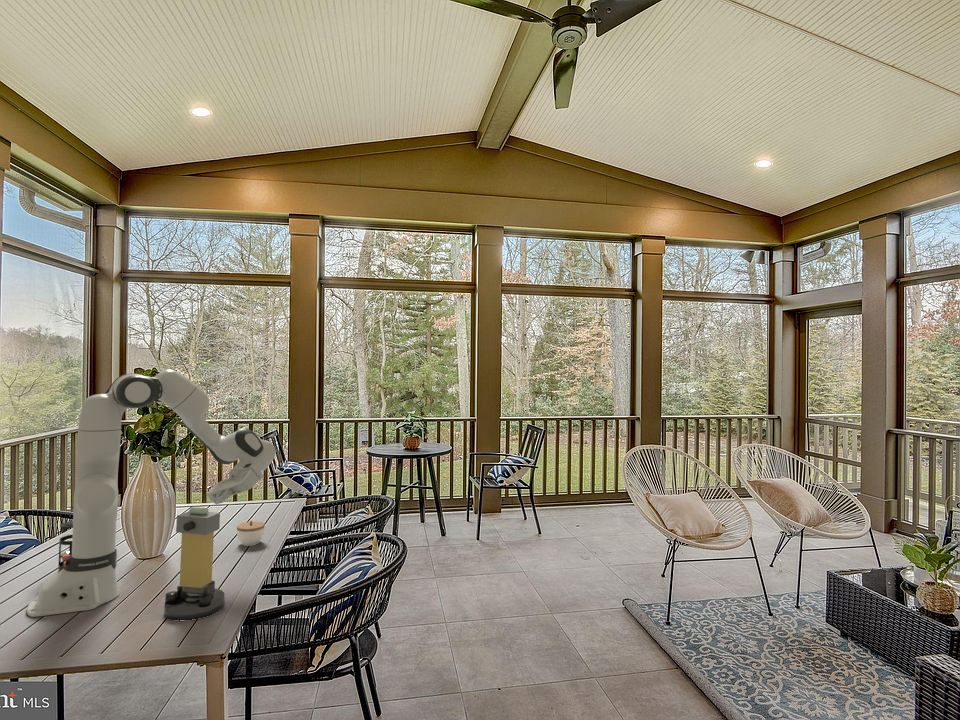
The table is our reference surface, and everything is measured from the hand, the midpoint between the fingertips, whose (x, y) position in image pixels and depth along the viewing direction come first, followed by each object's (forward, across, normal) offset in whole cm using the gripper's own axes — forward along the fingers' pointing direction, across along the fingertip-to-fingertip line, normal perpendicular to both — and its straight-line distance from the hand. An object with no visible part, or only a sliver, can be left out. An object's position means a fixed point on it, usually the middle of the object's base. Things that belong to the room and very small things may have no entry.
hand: (217, 502), depth 177 cm
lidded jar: (-20, -32, +34) cm, 51 cm away
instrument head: (+26, +3, +14) cm, 30 cm away
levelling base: (+28, +1, +18) cm, 33 cm away
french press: (+19, -59, 0) cm, 62 cm away
